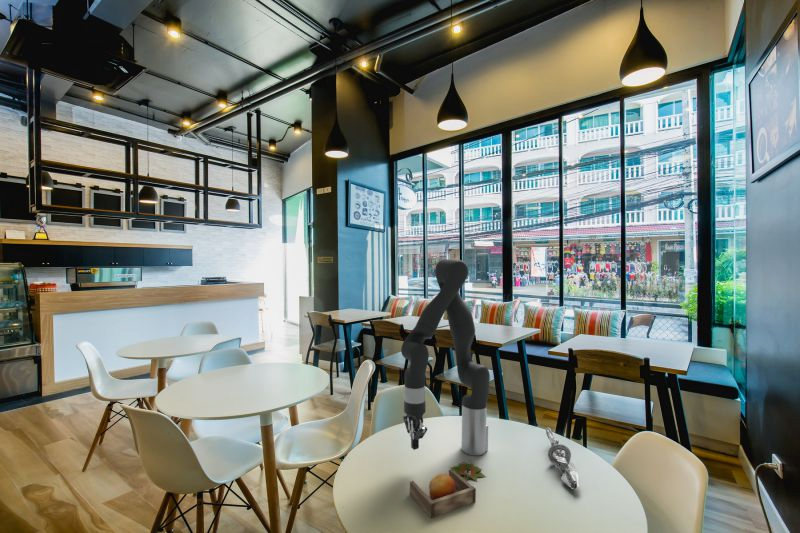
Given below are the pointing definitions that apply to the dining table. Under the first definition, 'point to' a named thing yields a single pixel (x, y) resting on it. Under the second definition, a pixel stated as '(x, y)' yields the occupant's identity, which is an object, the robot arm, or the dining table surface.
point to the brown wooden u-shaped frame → (445, 497)
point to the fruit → (441, 486)
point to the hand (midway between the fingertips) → (414, 448)
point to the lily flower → (468, 467)
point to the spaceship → (562, 461)
